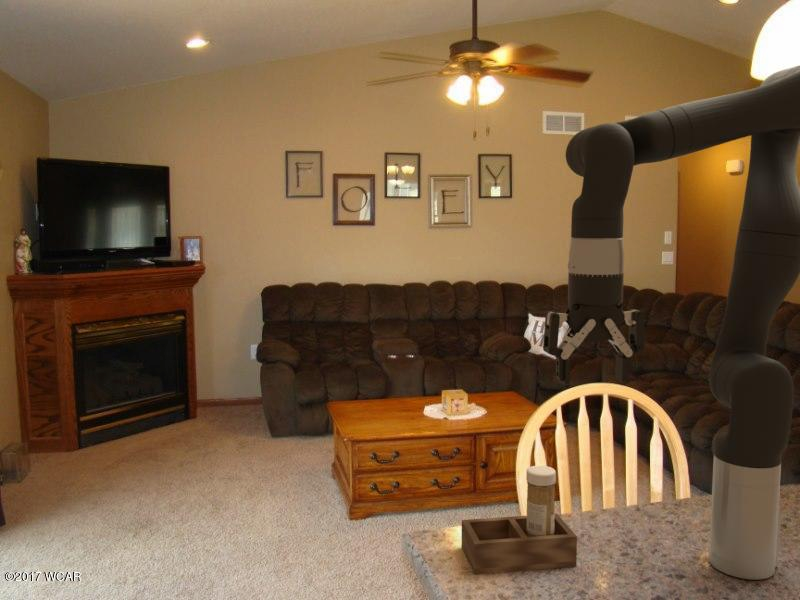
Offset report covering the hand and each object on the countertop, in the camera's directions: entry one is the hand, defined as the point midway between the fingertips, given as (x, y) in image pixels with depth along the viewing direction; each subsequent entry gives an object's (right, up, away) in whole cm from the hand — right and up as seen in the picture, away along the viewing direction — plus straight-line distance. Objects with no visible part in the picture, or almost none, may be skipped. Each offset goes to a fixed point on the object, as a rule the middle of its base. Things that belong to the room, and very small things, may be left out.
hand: (592, 382), depth 101 cm
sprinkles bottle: (-5, -28, +12) cm, 31 cm away
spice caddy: (-9, -29, +11) cm, 32 cm away
